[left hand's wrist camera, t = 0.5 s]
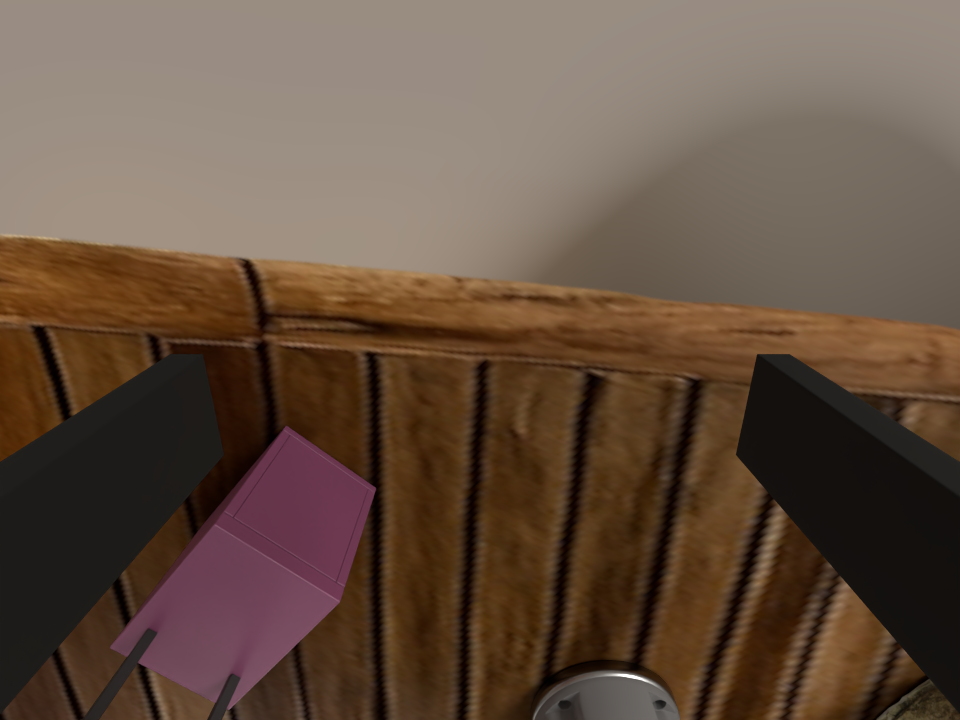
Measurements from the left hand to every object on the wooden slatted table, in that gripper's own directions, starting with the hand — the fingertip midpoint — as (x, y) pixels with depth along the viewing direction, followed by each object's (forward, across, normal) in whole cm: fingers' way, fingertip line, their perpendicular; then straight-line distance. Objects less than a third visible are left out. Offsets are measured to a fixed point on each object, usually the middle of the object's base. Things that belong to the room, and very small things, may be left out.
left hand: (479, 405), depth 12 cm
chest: (+26, +17, +23) cm, 39 cm away
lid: (+15, +17, +23) cm, 33 cm away
